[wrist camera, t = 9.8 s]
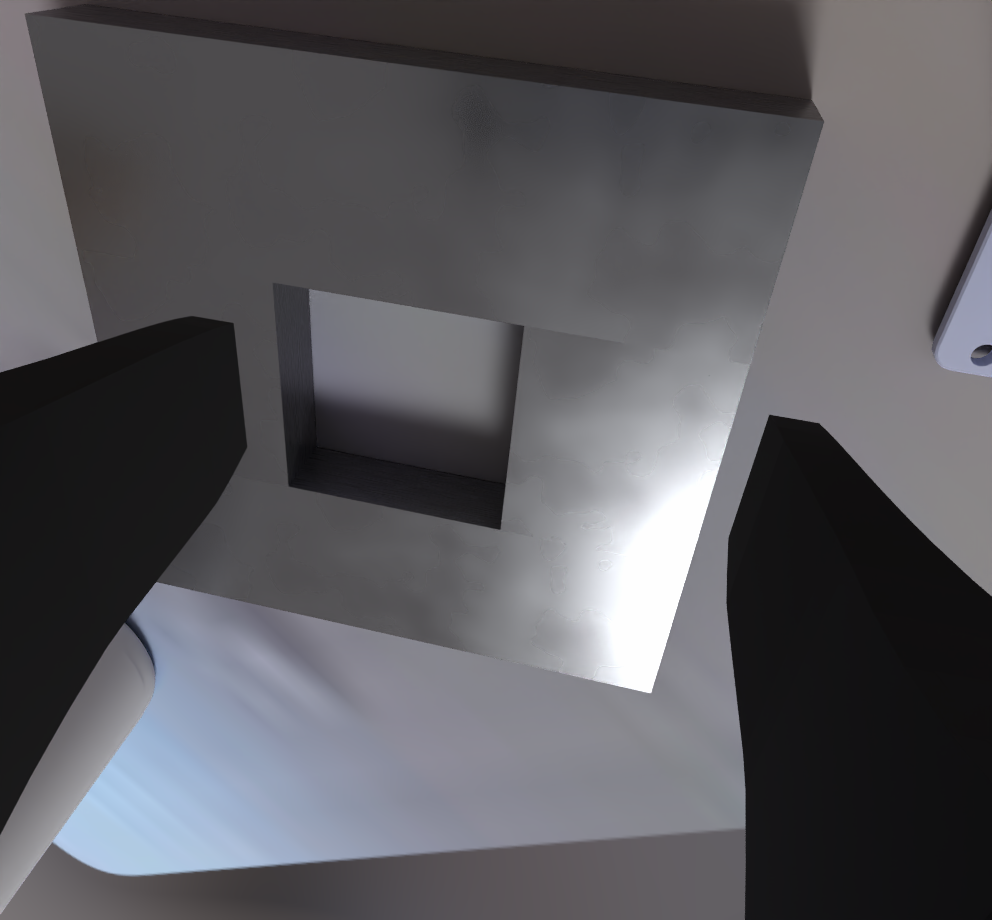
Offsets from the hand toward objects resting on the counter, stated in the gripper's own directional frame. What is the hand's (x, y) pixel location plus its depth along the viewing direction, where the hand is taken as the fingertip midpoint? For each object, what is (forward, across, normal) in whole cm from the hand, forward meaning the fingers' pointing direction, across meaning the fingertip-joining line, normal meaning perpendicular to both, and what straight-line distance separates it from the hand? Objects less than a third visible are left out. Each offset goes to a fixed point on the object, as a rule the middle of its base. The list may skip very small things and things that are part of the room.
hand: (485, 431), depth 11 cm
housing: (+10, +4, +5) cm, 11 cm away
